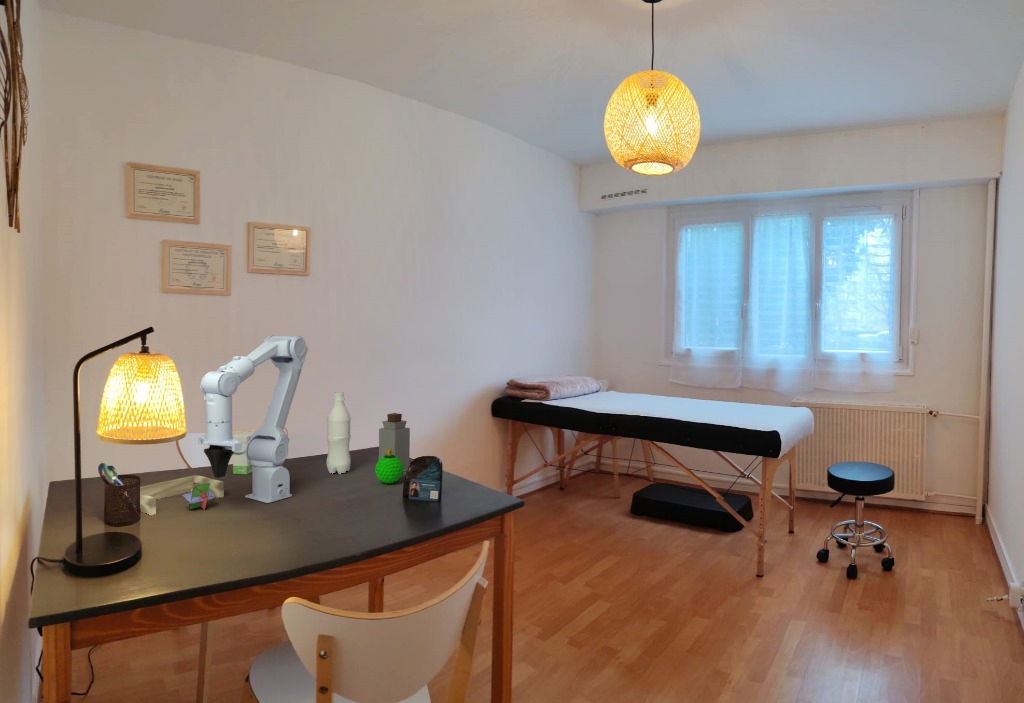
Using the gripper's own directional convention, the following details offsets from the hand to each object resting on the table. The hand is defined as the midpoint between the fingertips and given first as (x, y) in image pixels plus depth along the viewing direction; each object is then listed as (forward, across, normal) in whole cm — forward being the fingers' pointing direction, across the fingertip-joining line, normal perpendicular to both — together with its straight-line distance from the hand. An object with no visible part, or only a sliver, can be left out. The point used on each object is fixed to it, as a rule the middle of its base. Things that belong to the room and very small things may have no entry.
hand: (219, 476), depth 153 cm
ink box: (+10, -32, +30) cm, 45 cm away
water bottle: (+10, -8, +45) cm, 47 cm away
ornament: (+10, +14, +45) cm, 48 cm away
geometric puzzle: (+10, -8, 0) cm, 13 cm away
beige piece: (+9, -18, 0) cm, 21 cm away
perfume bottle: (+10, +4, +57) cm, 58 cm away
